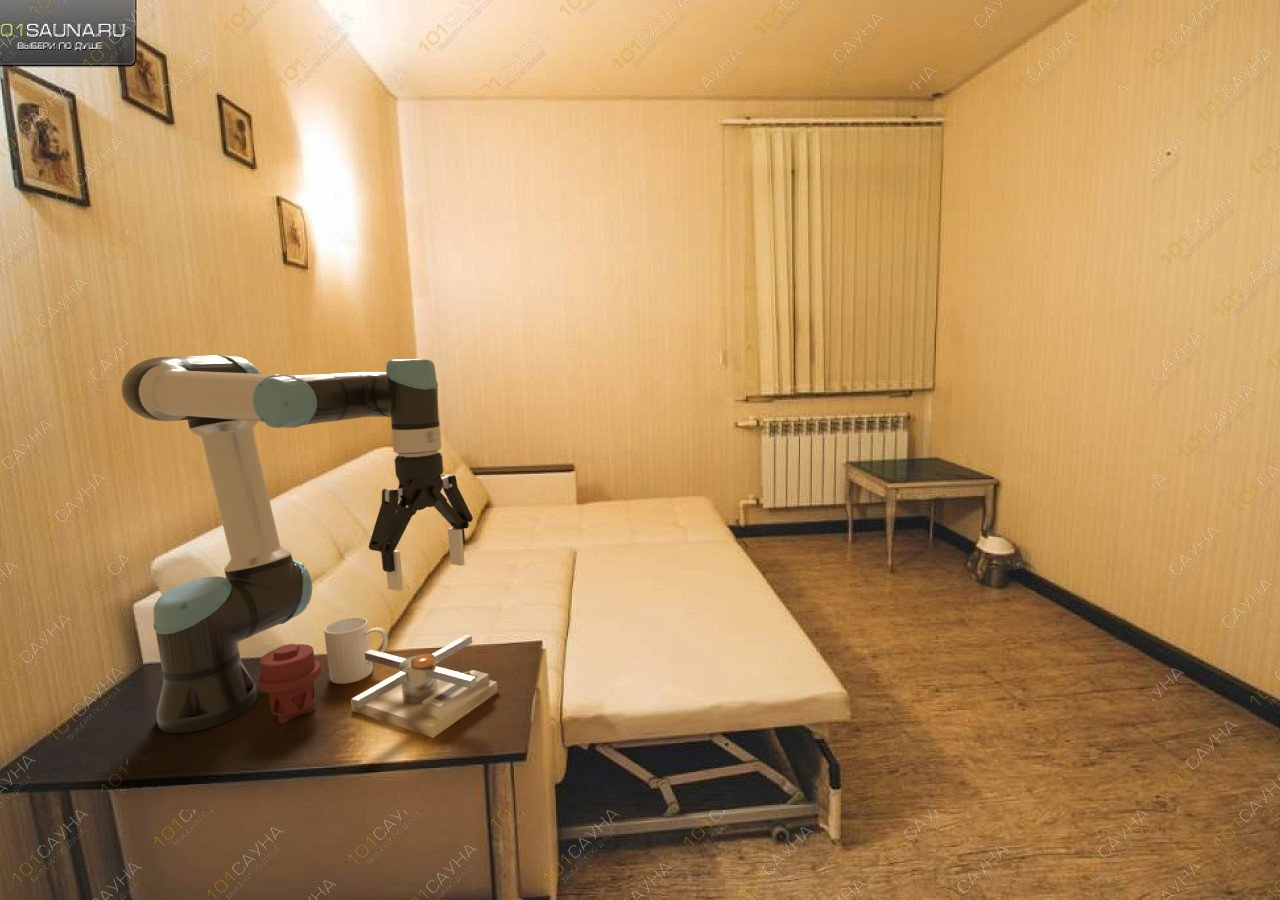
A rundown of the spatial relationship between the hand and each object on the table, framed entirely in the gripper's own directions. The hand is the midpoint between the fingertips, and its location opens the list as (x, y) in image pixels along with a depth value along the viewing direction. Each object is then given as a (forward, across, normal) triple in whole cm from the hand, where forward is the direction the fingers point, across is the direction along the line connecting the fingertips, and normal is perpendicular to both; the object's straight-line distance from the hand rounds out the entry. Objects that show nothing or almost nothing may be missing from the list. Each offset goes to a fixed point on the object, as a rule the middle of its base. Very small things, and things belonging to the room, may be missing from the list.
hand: (428, 576), depth 110 cm
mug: (+26, +4, +25) cm, 36 cm away
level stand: (+25, +2, +5) cm, 26 cm away
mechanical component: (+26, -11, +24) cm, 37 cm away
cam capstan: (+23, 0, +4) cm, 23 cm away
